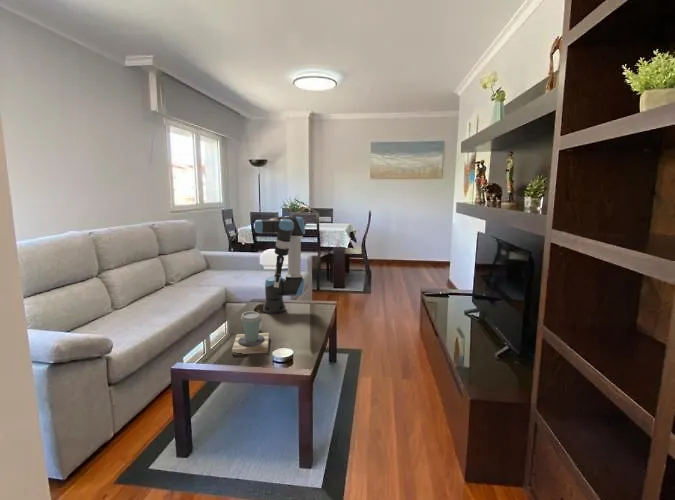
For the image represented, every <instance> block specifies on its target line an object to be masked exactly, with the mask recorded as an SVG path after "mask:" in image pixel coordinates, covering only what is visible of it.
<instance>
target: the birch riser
mask: <svg viewBox="0 0 675 500" xmlns="http://www.w3.org/2000/svg"><path fill="white" fill-rule="evenodd" d="M269 344H270V332H259V336H258V340H257V341H255V342H247V341H246V339H245V335H244V333H240V334H239V333H237V334H236V335H235V338H234V343H233V345H232V348H231V352H236V353H242V354H241V355H246V354H263V353H265V354H266V353H267V354H268V353H269Z"/></svg>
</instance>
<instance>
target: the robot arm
mask: <svg viewBox="0 0 675 500" xmlns="http://www.w3.org/2000/svg"><path fill="white" fill-rule="evenodd" d="M254 232H255V233H257V234H277V236H276V237H277V238H276V240H275V241H276V242H275V247H274V254H275V255H277V256H276V264H275V270H274V275H273V276H270V277H268V278H266V279H265V283H264V284H265V285H264V289H265V290H264V291H265V301H264V304H263V307H262V309H263V310H262V311H263V312H264V313H266V314H270V315H273V314H274V315H275V314H281V313H284V312H285V311H286V305H285V301H284V298H283V297H286V296H287V297H299V296H302V295H303V294H304V290H305V281H306V279H305V278H303V276H304V275H302V273H301V264H302V263H301V261H302V260H301V257H302V256H301V255H302V254H301V253H302V251H301V248H302V245H301V242H302V240H301V239H302V238H303V237H304V235H305V234H306V228H305V222H304V217H302V216H277V217H276V216H275V217H271V218H269V219H256V220H255V221H254ZM286 256H287V274H286V275H285V278H283V276H281V275H282V269H283V265H284V261H285V257H286Z"/></svg>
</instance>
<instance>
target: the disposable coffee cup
mask: <svg viewBox="0 0 675 500" xmlns="http://www.w3.org/2000/svg"><path fill="white" fill-rule="evenodd" d="M260 318H261V319H262V316H261V314H260V313H259V312H257V311H252V310H251V311H250V310H249V311H248V310H247V311H245V312H242V313H241V316H240V321H241V325H242V329H243V334H244V335H245V339H246V341H247V342H255V341H257V340H258V336H259V333H260V329H259V327H260ZM260 328H261V327H260Z"/></svg>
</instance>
